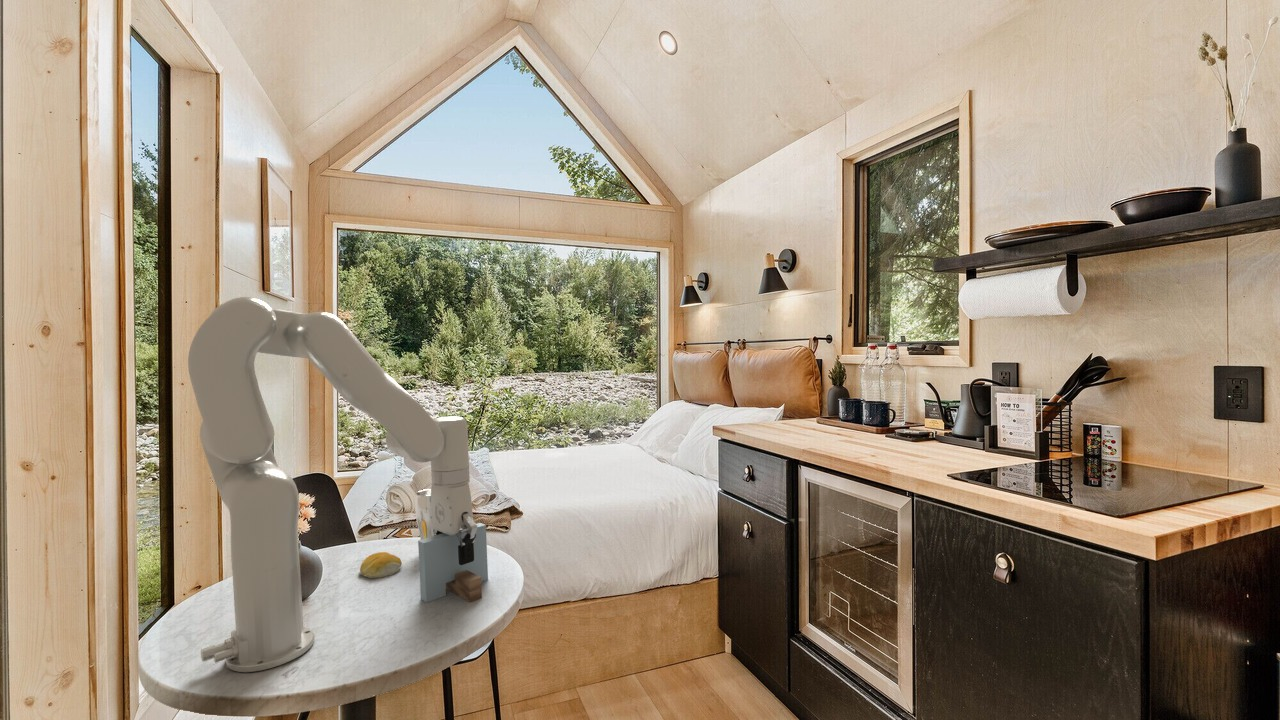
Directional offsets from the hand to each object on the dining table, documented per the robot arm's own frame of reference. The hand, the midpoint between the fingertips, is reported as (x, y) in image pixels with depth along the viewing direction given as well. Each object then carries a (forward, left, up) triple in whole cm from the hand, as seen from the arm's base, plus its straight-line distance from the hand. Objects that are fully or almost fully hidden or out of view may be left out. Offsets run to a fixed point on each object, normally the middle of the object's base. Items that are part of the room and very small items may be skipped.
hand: (454, 557), depth 120 cm
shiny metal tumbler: (+7, +24, -7) cm, 26 cm away
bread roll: (-6, +23, -7) cm, 24 cm away
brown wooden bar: (0, 0, -7) cm, 7 cm away
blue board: (0, 0, -7) cm, 7 cm away
